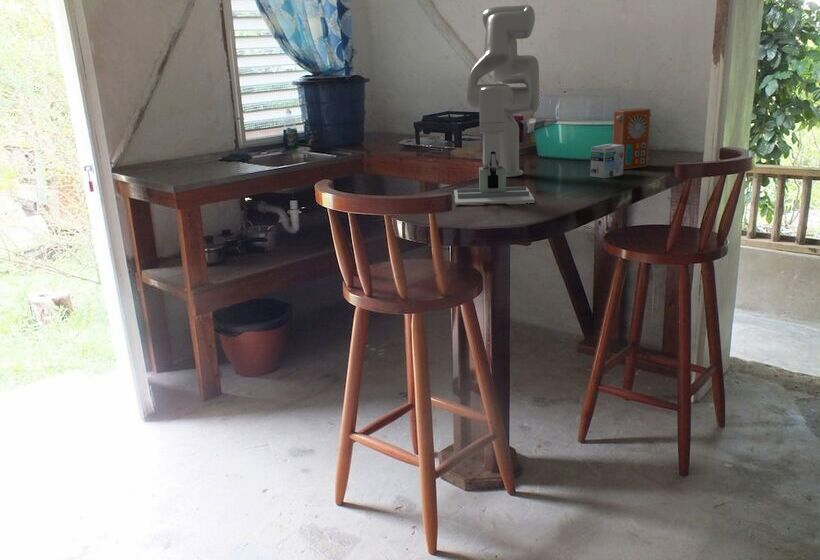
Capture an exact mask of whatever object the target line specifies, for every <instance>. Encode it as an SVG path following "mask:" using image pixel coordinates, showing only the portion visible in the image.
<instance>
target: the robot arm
mask: <svg viewBox="0 0 820 560" xmlns="http://www.w3.org/2000/svg"><path fill="white" fill-rule="evenodd" d="M482 22H483V27H484V28H485V36H484V37H485V39H484V50H483V53H484V54H483V56H482V57H481V58H480V59H479V60H478V61H477V62H476V63H475V64H474V65H473V67H472V68H471V70H470V73H469V76H468V81H467V89H466V90H467V91H466V92H467V93H466V101H467V104H468V107H469V108H470V109H472V110H479V112H478V113H479V116H478V117H479V134H482V164H483V166H488V172H489V176H488V188H489V189H491V188H498V170H497V166H498V165H501V166H505V168H506V178H513V177H514V178H515V177H519V176H522V175H524V171H523V170H522V169H520V126H519V123H518V122H517V120H516V119H515V117H514V116H513V115H527V114H534V113H536V112H538V110H539V107H540V67H539V61H538V59H537V57H536V56H534V55H531V54H525V55H524V54H523V55H519V54H518V40H520V39H521V40H522V39H529V38H530V37H531V36H532V32H533V29H534V27H535V23H536V14H535V10H534V8H533V7H532V6H531V5H526V4H525V5H509V6H508V5H505V6H494V7H488V8H487V9H485V10H484V11H483V13H482ZM491 72H493V78H494V81H495V82H496V83H491V84H489V83H488V84H487V83H486V84H478V83H479V81H480V80H481V79H482V78H483V77H485V75H487V74H489V73H491ZM497 83H498V84H497ZM509 84H510V85H513V84H515V85H516V84H523V85H525V86H510V85H509Z"/></svg>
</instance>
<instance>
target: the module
mask: <svg viewBox="0 0 820 560" xmlns="http://www.w3.org/2000/svg"><path fill="white" fill-rule="evenodd" d="M497 170H498V188H491V189H489V188H488V176H489V172H488V166H487V165H486V166H484V165H482V166H479V167H478V178H479V179H478V181H479V182H478V184H479V185H478V188H479V189H480V192H498V191H506V187H507V177H506V168H505V166H501V165H498V166H497Z"/></svg>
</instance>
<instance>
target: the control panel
mask: <svg viewBox="0 0 820 560" xmlns="http://www.w3.org/2000/svg"><path fill="white" fill-rule="evenodd" d="M651 117H652V113H651V108H644V107H637V108H627V109H616V110H615V109H614V111H613V124H612V125H613V129H612V144H618V145H624V162H623V170H630V169H636V168H637V169H639V168H646V167H648V161H649V160H650V158H649V157H648V156H649V143H650V142H649V139H650V138H649V137H650V123H651Z"/></svg>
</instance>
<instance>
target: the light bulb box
mask: <svg viewBox="0 0 820 560" xmlns="http://www.w3.org/2000/svg"><path fill="white" fill-rule="evenodd" d="M590 147H591V148H590V172H589V173H590V174H589V176H590V177H593V178H600V179H607V178H613V177H619V176H623V174H624V169H623V162H624V145H618V144H613V143H605V144H601V145H595V146H594V145H593V146H590Z"/></svg>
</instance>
